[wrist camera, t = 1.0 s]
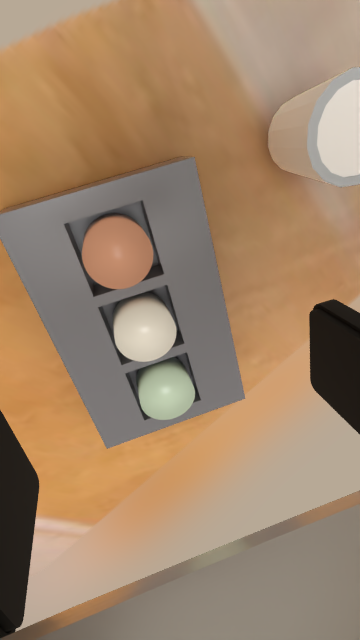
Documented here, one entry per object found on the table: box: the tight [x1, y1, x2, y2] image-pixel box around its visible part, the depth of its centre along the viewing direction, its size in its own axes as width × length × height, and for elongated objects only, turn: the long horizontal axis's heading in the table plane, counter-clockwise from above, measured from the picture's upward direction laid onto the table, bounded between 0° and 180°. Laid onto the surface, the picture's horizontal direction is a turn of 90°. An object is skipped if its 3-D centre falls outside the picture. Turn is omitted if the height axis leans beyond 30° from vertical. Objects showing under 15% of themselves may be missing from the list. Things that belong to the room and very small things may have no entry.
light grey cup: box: [268, 67, 360, 187], centre depth 25 cm, size 7×7×7 cm
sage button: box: [136, 357, 195, 420], centre depth 31 cm, size 5×5×3 cm
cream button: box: [113, 292, 176, 362], centre depth 28 cm, size 5×5×3 cm
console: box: [0, 157, 245, 449], centre depth 30 cm, size 14×22×4 cm, turn 14°
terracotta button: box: [82, 213, 153, 289], centre depth 25 cm, size 5×5×3 cm
